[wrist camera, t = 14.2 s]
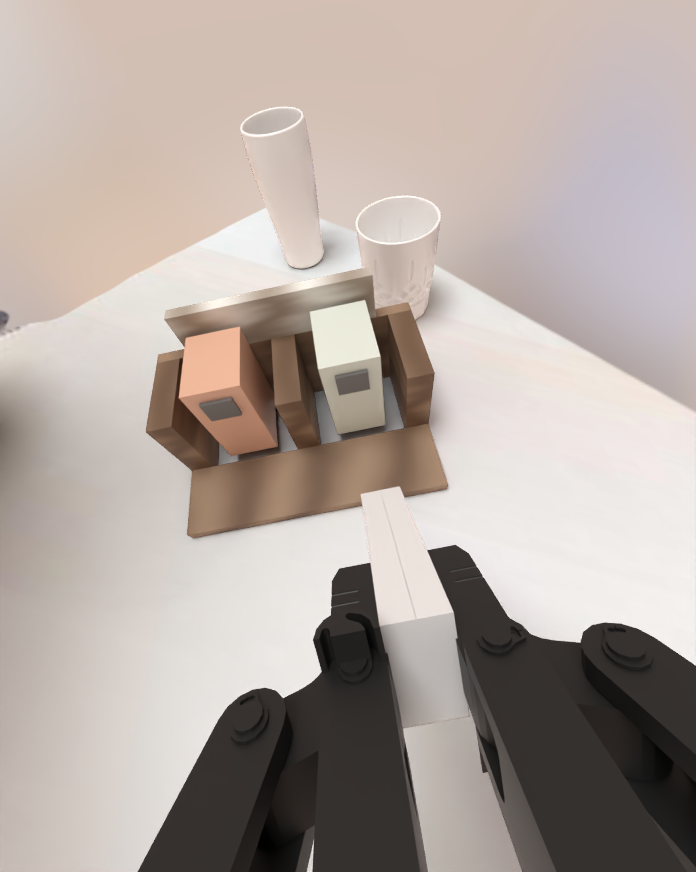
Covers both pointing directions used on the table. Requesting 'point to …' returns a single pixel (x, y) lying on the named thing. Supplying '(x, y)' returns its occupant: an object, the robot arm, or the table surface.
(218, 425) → the peach rectangular block
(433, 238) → the white cup
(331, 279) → the wooden rack
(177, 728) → the table surface
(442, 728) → the table surface
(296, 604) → the table surface
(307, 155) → the drinking glass
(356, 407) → the cream rectangular block
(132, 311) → the table surface
